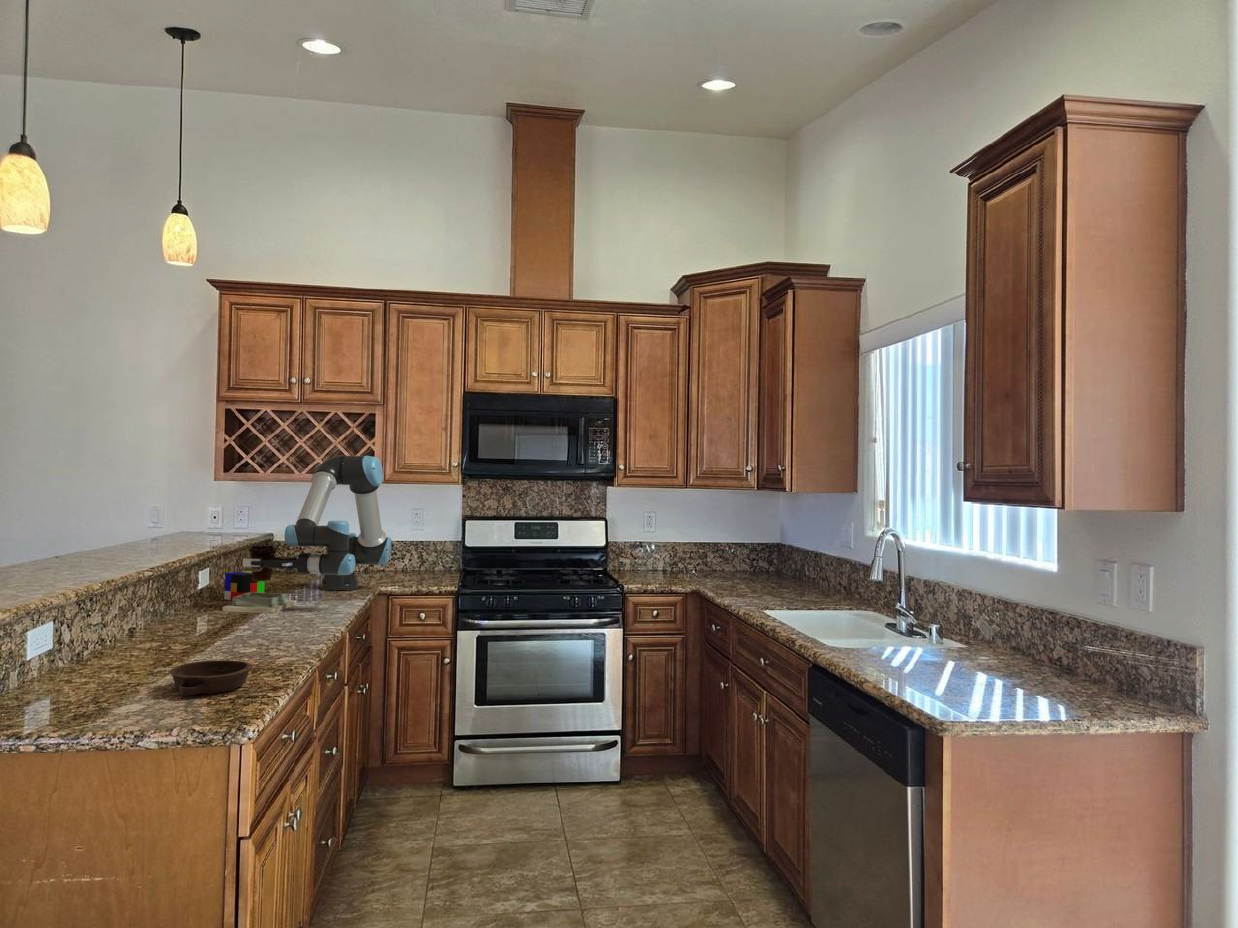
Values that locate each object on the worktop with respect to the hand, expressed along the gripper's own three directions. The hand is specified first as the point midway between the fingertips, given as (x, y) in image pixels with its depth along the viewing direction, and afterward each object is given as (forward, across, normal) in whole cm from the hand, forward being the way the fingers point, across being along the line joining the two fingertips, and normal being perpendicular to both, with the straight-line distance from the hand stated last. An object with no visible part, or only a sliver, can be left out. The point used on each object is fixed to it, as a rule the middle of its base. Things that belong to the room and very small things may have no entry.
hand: (248, 561), depth 319 cm
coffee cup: (-5, 0, -7) cm, 9 cm away
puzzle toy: (+10, +19, -17) cm, 28 cm away
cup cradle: (-5, 0, -17) cm, 17 cm away
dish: (-44, -111, -18) cm, 120 cm away
